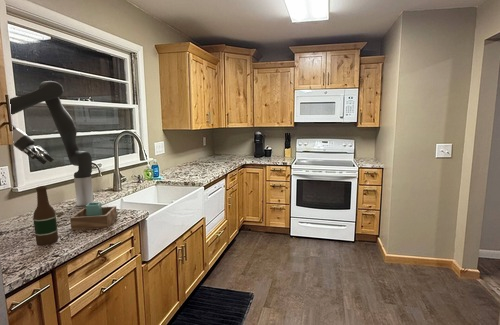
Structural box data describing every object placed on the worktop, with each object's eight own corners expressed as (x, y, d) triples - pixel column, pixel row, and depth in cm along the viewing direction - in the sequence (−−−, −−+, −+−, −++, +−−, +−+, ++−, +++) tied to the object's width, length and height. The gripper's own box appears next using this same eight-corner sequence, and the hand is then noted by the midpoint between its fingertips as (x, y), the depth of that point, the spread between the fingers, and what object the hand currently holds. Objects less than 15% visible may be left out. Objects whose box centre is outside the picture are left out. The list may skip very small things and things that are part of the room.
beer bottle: (62, 238, 126) (56, 184, 123) (51, 245, 119) (44, 188, 115) (44, 238, 126) (38, 184, 123) (31, 246, 118) (24, 189, 115)
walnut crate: (84, 219, 151) (83, 208, 151) (116, 217, 154) (116, 206, 153) (71, 230, 136) (70, 218, 135) (107, 227, 138) (106, 215, 138)
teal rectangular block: (90, 220, 147) (88, 203, 145) (102, 219, 148) (101, 202, 147) (87, 223, 141) (85, 206, 140) (100, 222, 143) (98, 205, 142)
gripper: (18, 135, 136) (48, 158, 140) (32, 134, 150) (59, 155, 154) (6, 146, 135) (37, 169, 140) (21, 144, 149) (49, 165, 153)
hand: (49, 161), depth 147 cm, fingers open, 8 cm apart
